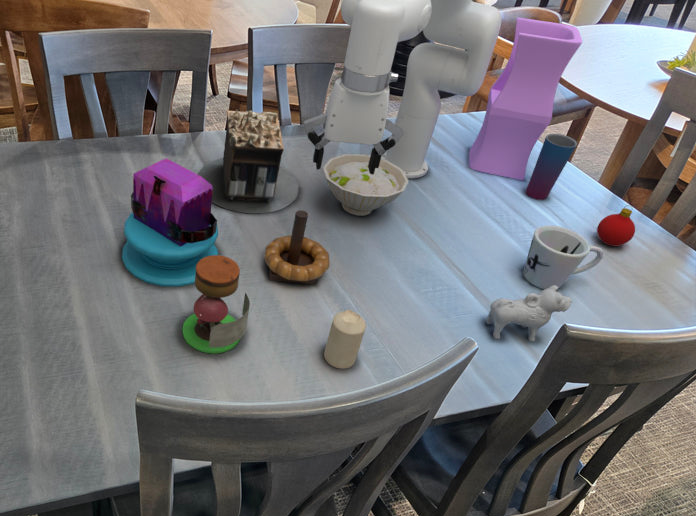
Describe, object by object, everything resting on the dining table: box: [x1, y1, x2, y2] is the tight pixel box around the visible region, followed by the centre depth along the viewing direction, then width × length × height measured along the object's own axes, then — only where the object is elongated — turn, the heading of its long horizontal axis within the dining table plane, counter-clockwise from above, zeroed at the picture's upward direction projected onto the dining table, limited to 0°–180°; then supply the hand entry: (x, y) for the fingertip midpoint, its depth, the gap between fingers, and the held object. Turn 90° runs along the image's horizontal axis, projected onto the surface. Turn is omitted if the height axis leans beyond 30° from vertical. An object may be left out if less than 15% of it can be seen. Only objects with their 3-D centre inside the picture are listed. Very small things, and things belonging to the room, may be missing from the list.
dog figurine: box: [485, 285, 573, 342], centre depth 115 cm, size 5×13×11 cm, turn 89°
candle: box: [323, 309, 367, 370], centre depth 108 cm, size 6×6×10 cm
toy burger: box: [182, 254, 251, 354], centre depth 109 cm, size 12×13×15 cm
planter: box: [196, 109, 299, 214], centre depth 148 cm, size 25×25×19 cm
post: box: [269, 209, 316, 285], centre depth 125 cm, size 9×9×14 cm
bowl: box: [322, 153, 410, 216], centre depth 145 cm, size 19×19×10 cm
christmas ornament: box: [596, 204, 636, 247], centre depth 140 cm, size 7×7×10 cm
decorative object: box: [121, 157, 219, 287], centre depth 124 cm, size 20×20×20 cm
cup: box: [525, 133, 578, 201], centre depth 153 cm, size 7×7×15 cm
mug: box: [522, 225, 604, 290], centre depth 128 cm, size 10×15×10 cm
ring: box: [264, 234, 331, 281], centre depth 127 cm, size 13×13×3 cm
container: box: [468, 17, 583, 181], centre depth 158 cm, size 14×14×35 cm
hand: (344, 168), depth 115 cm, fingers open, 9 cm apart
